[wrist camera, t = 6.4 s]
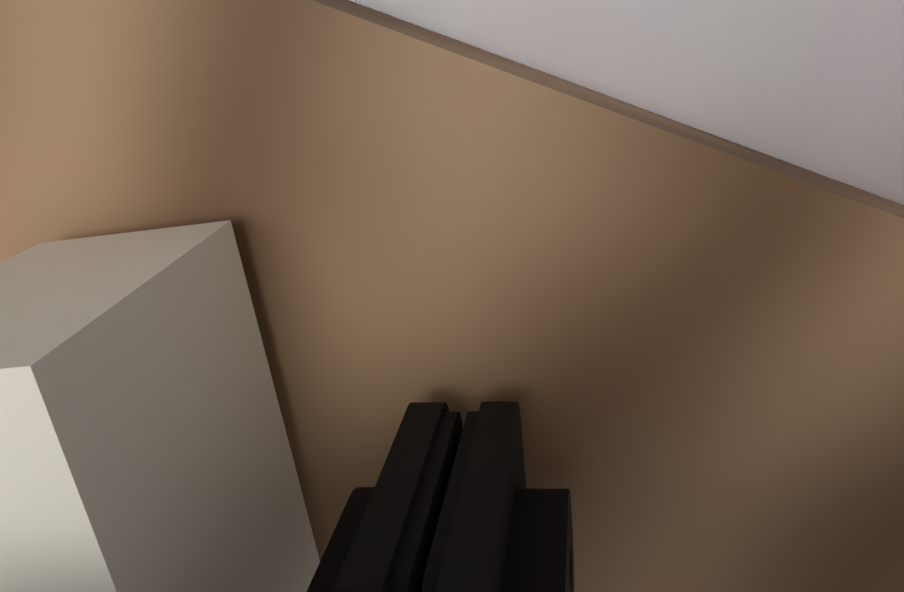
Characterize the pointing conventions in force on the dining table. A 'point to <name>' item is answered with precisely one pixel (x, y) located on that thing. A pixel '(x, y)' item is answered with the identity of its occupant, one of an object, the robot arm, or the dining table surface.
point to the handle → (142, 422)
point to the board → (497, 273)
